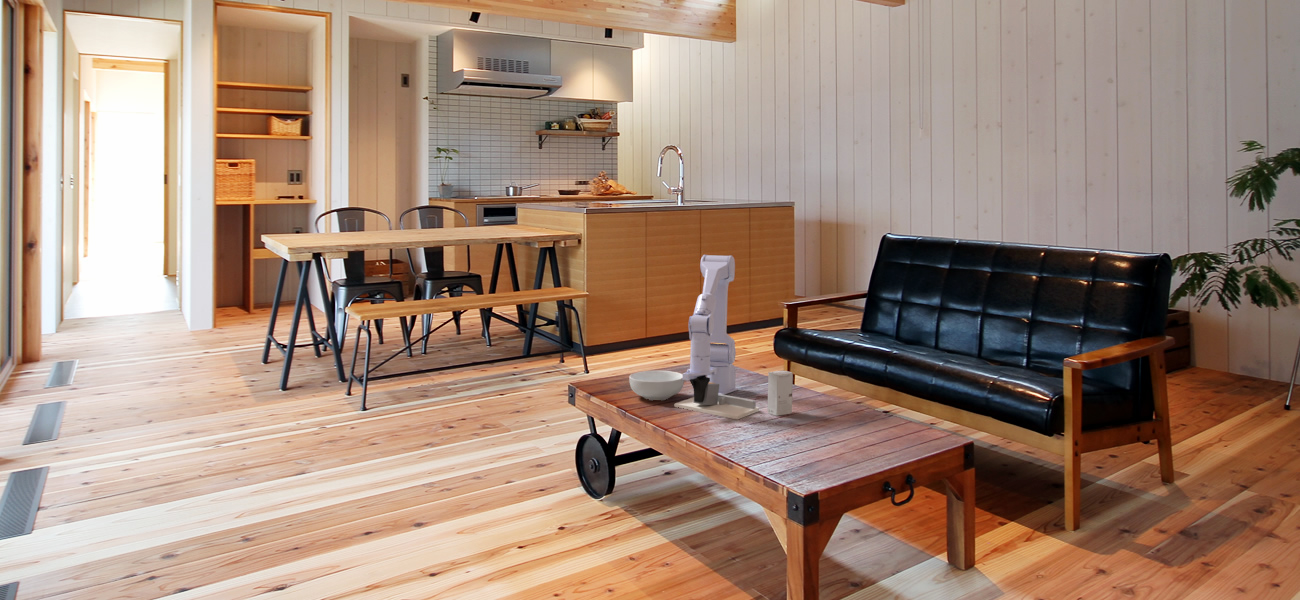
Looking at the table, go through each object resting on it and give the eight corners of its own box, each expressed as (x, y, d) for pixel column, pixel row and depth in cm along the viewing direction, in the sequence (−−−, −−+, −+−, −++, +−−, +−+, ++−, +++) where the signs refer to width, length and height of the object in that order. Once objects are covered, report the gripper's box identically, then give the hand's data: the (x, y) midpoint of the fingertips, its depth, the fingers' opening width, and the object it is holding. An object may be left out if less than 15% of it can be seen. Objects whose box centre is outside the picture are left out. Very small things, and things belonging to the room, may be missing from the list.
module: (704, 401, 255) (706, 381, 255) (717, 404, 252) (719, 383, 252) (693, 402, 250) (695, 382, 250) (706, 405, 247) (708, 384, 247)
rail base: (697, 398, 262) (697, 388, 262) (759, 410, 249) (759, 400, 248) (674, 406, 253) (674, 396, 253) (737, 419, 239) (737, 408, 239)
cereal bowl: (685, 391, 271) (685, 370, 270) (682, 405, 255) (682, 382, 254) (632, 390, 273) (632, 368, 272) (626, 403, 257) (626, 380, 256)
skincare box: (777, 416, 243) (777, 375, 241) (766, 413, 246) (767, 372, 245) (793, 413, 246) (794, 372, 244) (782, 409, 250) (783, 369, 248)
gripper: (703, 351, 255) (702, 395, 256) (674, 356, 244) (673, 403, 245) (722, 353, 251) (721, 399, 252) (694, 359, 239) (693, 407, 241)
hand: (699, 401), depth 248 cm, fingers closed, pressing on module
